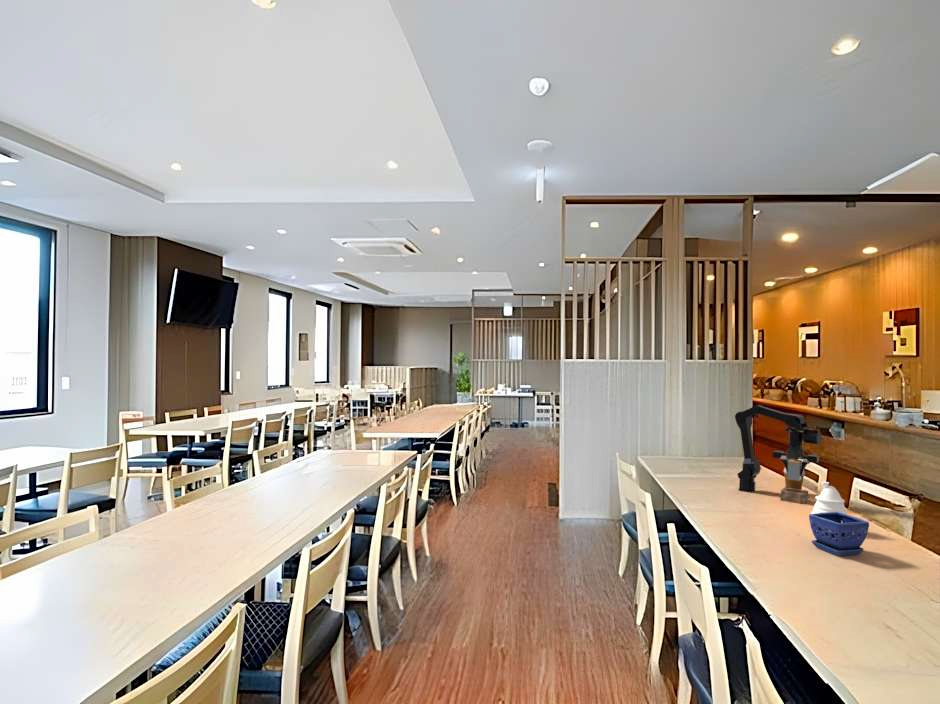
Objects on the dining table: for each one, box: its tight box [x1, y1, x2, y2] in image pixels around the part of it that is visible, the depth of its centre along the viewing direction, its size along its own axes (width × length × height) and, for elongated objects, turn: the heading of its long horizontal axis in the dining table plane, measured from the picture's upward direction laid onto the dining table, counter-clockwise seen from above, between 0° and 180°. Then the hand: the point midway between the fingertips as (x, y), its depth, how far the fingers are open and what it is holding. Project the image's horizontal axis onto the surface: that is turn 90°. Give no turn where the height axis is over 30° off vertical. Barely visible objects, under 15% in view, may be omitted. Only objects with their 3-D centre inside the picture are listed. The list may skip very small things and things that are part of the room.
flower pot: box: [808, 512, 870, 557], centre depth 209 cm, size 13×13×12 cm
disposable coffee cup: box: [783, 467, 806, 490], centre depth 295 cm, size 10×10×12 cm
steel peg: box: [788, 459, 803, 481], centre depth 281 cm, size 5×5×9 cm
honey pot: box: [810, 480, 848, 523], centre depth 237 cm, size 13×13×18 cm
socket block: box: [780, 486, 809, 505], centre depth 281 cm, size 10×10×4 cm
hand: (794, 474), depth 281 cm, fingers closed on steel peg, 5 cm apart
